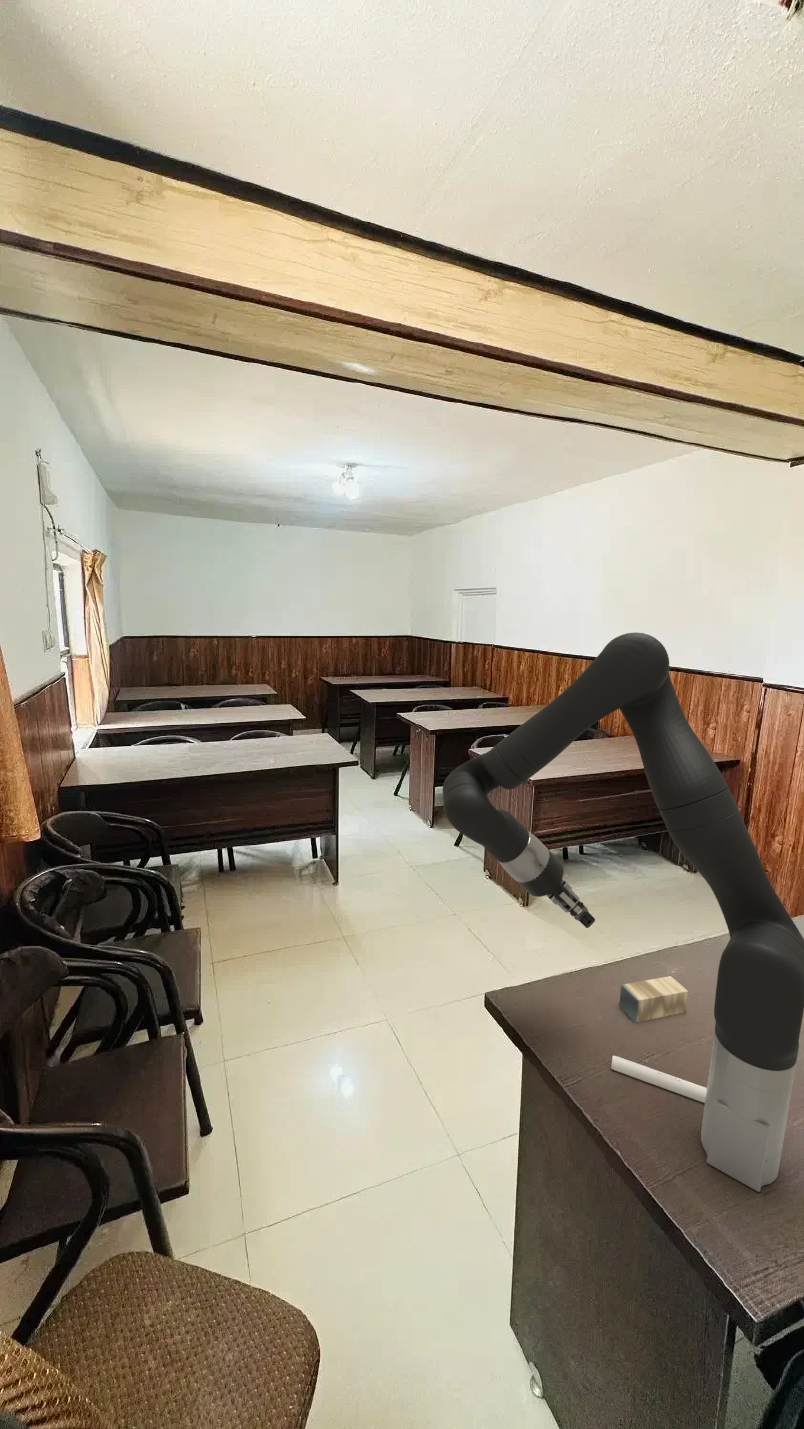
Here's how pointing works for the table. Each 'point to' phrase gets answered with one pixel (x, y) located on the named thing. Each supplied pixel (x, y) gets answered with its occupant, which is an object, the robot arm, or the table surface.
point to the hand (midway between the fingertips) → (589, 922)
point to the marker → (659, 1079)
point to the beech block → (653, 998)
